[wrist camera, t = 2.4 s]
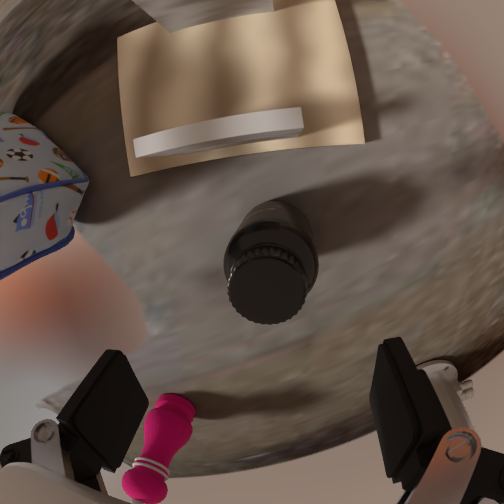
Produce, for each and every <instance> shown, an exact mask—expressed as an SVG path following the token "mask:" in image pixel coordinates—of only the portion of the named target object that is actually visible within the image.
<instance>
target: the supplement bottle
mask: <svg viewBox="0 0 504 504" xmlns="http://www.w3.org/2000/svg"><path fill="white" fill-rule="evenodd" d="M318 269H319V262H318V255H317V250H316V246H315V243H314V239H313V235H312V232H311V228H310V225H309V223H308V220H307V219H306V217H305V216H304V214H303V213H302V212H301V211H300V210H299V209H298V208H296V207H295V206H293V205H291V204H289V203H286V202H282V201H269V202H265V203H262V204H260V205H258V206H256V207H255V208H253V209H252V210H251V211H250V212H249V213H248V214H247V216H246V217H245V218H244V220H243V221H242V223H241V224H240V226H239V227H238V229H237V231H236V232H235V234H234V235H233V237H232V238H231V240H230V242H229V244H228V246H227V248H226V251H225V255H224V273H225V276H226V279H227V282H228V284H227V288H228V293H227V294H228V295H229V300H230V302H231V303H232V306H233V307H234V308H235V309H236V311H237V312H238V313H240V314H241V315H242V317H245V318H247V319H248V320H249V321H253V322H255V323H260V324H269V325H271V324H278V323H280V322H285V321H286V320H288V319H291V318H292V317H293V316H294V315H296V314H297V312H298V311H299V310H300V309H301V308H302V305H303V304H304V303H305V298H306V296H307V294H308V293H309V292H310V290H311V289H312V287H313V286H314V283H315V281H316V278H317V275H318Z"/></svg>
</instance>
